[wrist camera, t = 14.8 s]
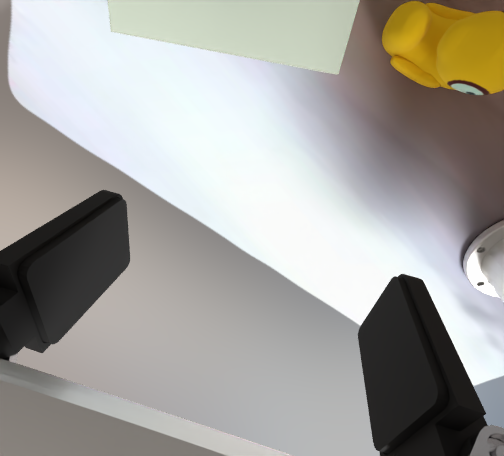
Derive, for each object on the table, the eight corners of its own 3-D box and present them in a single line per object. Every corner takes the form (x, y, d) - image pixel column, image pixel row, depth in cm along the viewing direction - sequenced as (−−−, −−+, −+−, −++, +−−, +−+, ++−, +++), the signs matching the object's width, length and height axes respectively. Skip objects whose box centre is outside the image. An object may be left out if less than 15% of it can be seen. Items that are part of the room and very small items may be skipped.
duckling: (514, 46, 24) (624, 42, 15) (464, 108, 27) (535, 132, 18) (398, -14, 23) (449, -53, 15) (360, 56, 26) (385, 57, 18)
